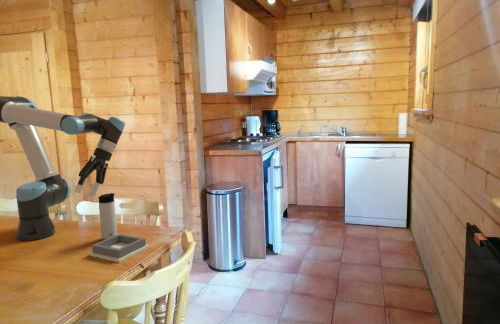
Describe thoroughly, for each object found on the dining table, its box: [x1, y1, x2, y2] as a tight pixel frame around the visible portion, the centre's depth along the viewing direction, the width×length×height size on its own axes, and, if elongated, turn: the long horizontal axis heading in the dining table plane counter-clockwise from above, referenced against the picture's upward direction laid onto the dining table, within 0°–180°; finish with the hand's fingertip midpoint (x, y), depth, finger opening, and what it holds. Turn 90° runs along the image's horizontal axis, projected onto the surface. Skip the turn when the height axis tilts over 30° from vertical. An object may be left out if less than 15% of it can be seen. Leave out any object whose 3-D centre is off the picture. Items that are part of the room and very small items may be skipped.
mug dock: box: [88, 233, 150, 264], centre depth 146 cm, size 16×16×4 cm
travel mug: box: [98, 192, 118, 241], centre depth 160 cm, size 6×7×20 cm
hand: (84, 194), depth 163 cm, fingers open, 13 cm apart
